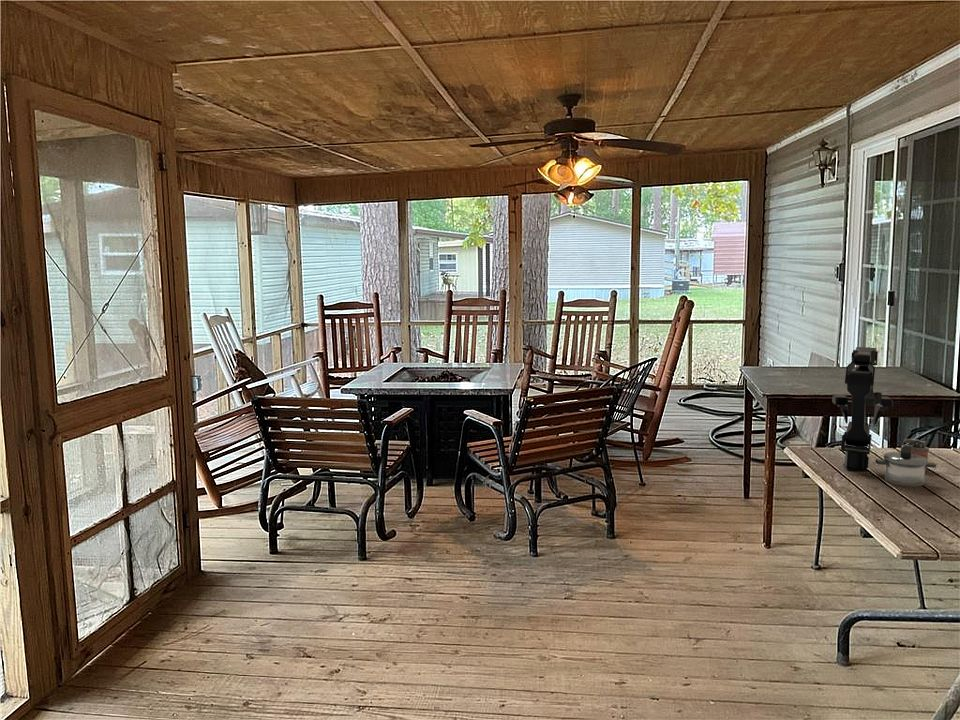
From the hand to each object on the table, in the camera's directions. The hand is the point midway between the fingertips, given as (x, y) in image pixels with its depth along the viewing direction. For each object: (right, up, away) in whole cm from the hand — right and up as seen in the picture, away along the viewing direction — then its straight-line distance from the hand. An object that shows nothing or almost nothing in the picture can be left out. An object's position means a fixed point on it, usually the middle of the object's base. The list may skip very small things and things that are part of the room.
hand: (860, 424), depth 252 cm
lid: (+2, -10, -24) cm, 26 cm away
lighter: (+14, -15, -9) cm, 22 cm away
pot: (+2, -17, -23) cm, 28 cm away
